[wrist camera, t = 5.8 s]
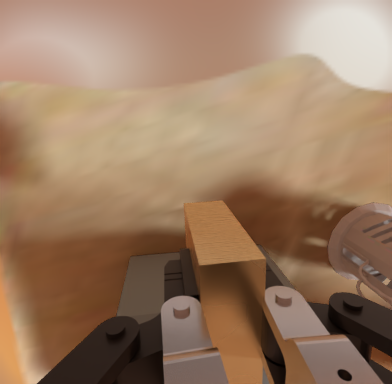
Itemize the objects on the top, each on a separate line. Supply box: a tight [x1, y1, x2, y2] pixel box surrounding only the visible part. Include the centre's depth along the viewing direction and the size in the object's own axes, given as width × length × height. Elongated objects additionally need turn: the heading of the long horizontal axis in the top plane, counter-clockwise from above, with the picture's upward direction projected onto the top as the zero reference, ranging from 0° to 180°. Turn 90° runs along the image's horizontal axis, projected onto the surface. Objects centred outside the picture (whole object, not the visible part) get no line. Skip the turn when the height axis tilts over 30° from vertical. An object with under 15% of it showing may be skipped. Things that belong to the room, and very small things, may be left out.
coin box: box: [116, 245, 296, 384], centre depth 26 cm, size 14×16×10 cm
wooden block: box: [184, 200, 266, 384], centre depth 11 cm, size 2×5×6 cm, turn 2°
